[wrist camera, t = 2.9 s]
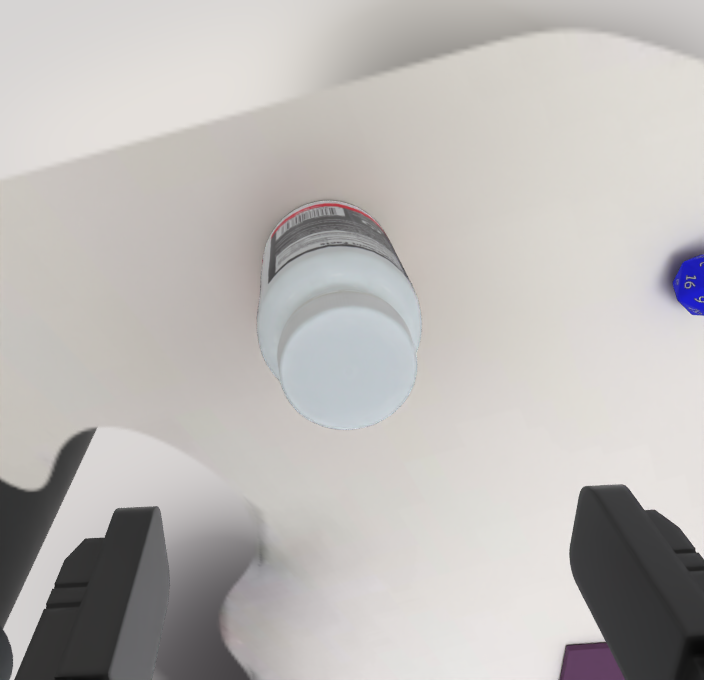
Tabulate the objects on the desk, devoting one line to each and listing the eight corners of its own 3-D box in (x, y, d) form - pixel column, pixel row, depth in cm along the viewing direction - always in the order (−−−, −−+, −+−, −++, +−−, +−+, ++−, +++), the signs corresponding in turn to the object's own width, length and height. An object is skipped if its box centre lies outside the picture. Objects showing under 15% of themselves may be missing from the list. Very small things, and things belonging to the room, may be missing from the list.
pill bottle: (369, 335, 30) (404, 468, 21) (248, 304, 28) (231, 431, 20) (410, 218, 27) (469, 310, 19) (281, 180, 26) (280, 259, 18)
